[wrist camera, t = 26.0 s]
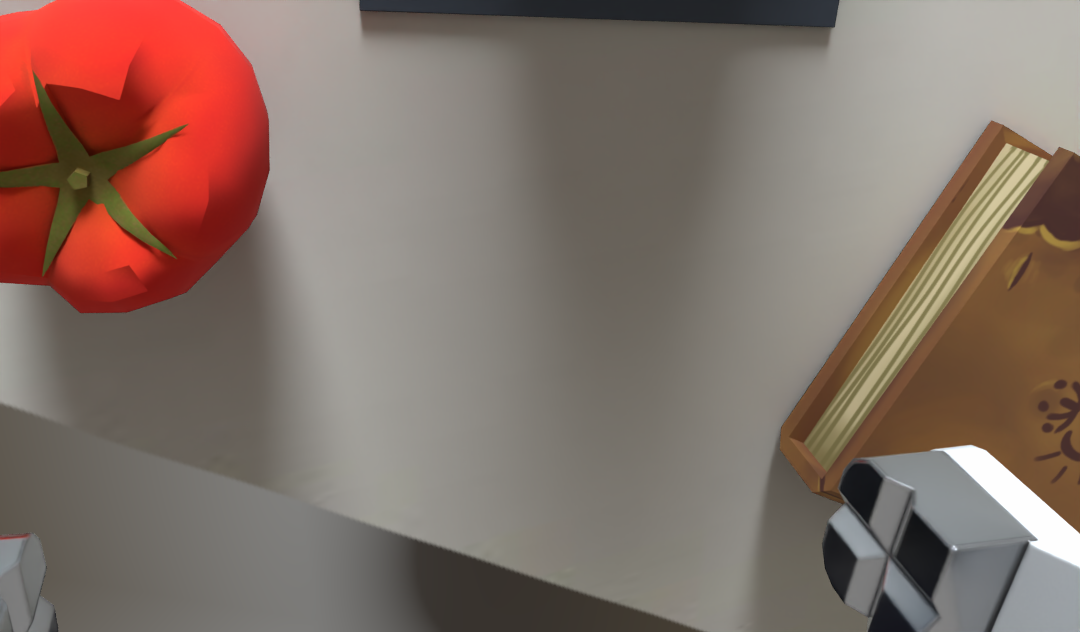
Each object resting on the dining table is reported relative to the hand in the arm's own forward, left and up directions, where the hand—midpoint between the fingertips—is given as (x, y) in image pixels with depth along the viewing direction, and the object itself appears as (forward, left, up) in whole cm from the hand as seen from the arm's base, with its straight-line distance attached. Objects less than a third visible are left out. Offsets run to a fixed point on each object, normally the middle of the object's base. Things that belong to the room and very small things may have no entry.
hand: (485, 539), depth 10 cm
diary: (+34, -16, -32) cm, 49 cm away
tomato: (-10, -3, -32) cm, 33 cm away
